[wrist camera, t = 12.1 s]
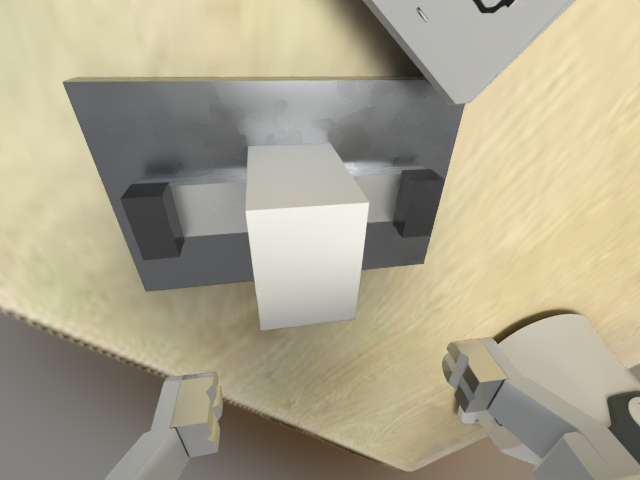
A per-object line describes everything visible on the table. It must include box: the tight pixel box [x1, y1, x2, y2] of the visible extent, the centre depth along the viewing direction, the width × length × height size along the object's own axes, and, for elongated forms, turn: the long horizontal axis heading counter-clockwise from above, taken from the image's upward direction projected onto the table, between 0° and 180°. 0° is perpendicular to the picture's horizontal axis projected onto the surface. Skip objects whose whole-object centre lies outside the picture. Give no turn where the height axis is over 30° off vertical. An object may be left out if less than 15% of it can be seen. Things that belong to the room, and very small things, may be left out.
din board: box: [63, 77, 465, 291], centre depth 20 cm, size 14×22×4 cm, turn 89°
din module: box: [245, 143, 369, 331], centre depth 18 cm, size 8×5×8 cm, turn 179°
